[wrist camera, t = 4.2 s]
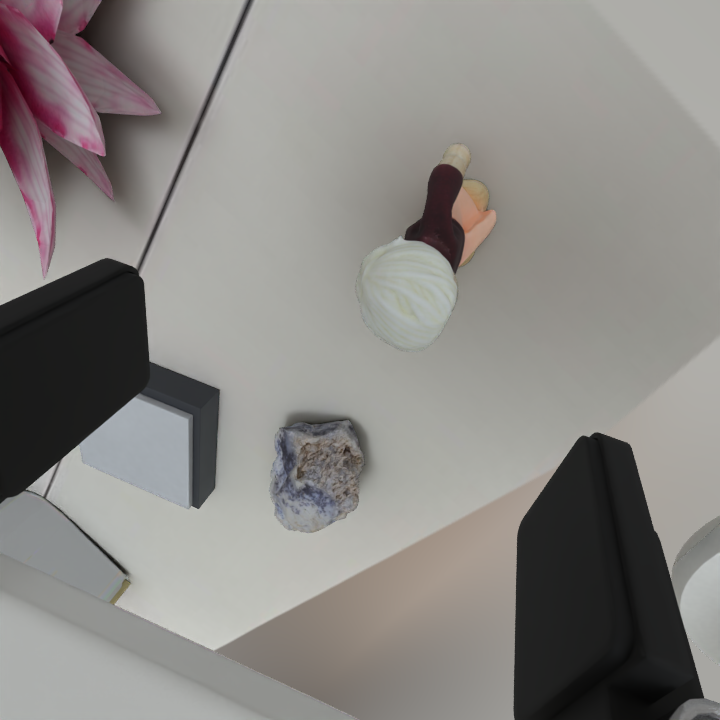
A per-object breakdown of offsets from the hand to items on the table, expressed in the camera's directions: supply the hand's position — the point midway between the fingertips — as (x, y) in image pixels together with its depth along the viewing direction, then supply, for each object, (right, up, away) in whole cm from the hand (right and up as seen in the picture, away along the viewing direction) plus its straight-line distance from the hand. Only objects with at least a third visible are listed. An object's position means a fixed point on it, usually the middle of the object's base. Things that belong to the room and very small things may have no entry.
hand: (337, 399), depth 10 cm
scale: (-17, -4, +30) cm, 35 cm away
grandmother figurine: (+6, +8, +14) cm, 17 cm away
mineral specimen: (-3, -7, +27) cm, 28 cm away
